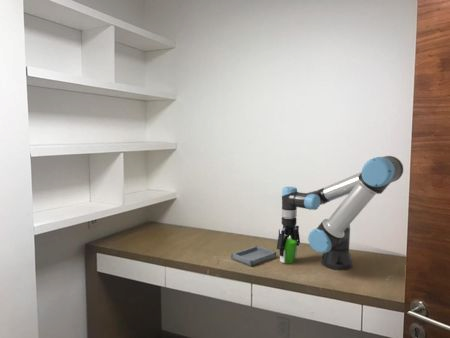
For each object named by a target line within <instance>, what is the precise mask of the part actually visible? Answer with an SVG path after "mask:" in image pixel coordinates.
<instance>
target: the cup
mask: <svg viewBox="0 0 450 338" xmlns="http://www.w3.org/2000/svg"><path fill="white" fill-rule="evenodd" d="M297 242H298V240H292V239H291V237H290V238H289V237H288V238H287V242H286V243H285V244H286V245H285V248H284V250H285V263H286V264H293V262H294V260H295V258H294V256H295V250H296V245H297ZM297 246H298V245H297ZM285 263H284V264H285Z"/></svg>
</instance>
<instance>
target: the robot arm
mask: <svg viewBox="0 0 450 338" xmlns="http://www.w3.org/2000/svg"><path fill="white" fill-rule="evenodd" d="M403 173H404V165H403V163H402V161H401V160H400V159H399V158H398V157H395V156H393V155H385V156H376V157H372V158H371V159H369V160H367V161H366V162H365V163H364V164H363V166H362V169H361V171H360V172H358V173H356V174H353V175H351V176H348V177H346V178H343V179H341V180H338V181H337V182H334V183H331V184H330V185H327V186H325V187H322V188H320V189H317V190H313V191H310V192H299V191H298V189H297V187H296V186H284V187H282V191H281V216H282V217H281V225H282V229H278V237H277V244H276V250H279V262H281V263H284V264H285V250H284V248H285V245H286V244H285V243H286V242H287V238H289V237H290V238H291V239H292V240H297V241H298V242H297V245H296V250H295V256H294V259H297V258H298V256H297V255H298V246H299V245H300V244H301V240H300V239H301V238H300V233H299V228H300V226H299V225H297V215H298V214H297V212H298V211H297V210H298V209H297V208H301V209H305V210H306V209H307V210H309V211H315V210H318V209H319V207H320V206H321V205H326V204H327V203H329V202H331V201H334V200H336V199H339V198H342V197H344V196H346V197H345V198H344V199H343V200H342V202H341V203H340V204H339V205H338V206H337V208H336V209H335V211H334V212H333V213H331V215H330V216H329V218H325V219H323V220H322V221H321V222H320V224H319V225H318V226H317V227H316V228H315V229H312V230H311V231H310V232H309V234H308V238H307V239H308V244H309V246H310V248H312V250H313V251H315V252H317V253H318V254H322V255H321V260H320V263H321V265H322V266H324V267H325V268H327V269H331V270H338V271H339V270H340V271H344V270H350V269H352V268H353V259H352V256H351V253H350V241H351V240H350V236H351V224H352V223H353V221H354V220H355V218H357V216H359V215H360V213H361V212H362V211H363V210H364V208H366V206H367V205H368V204H369V202H370V201H372V199H373V198H374V197H375V196H376V195H380V194H383V193H384V191H385V190H386V189H387V188H388V187H389V186H390V184H392V183H394V182H396V181H398V180H400V178H401V177H402V176H403Z"/></svg>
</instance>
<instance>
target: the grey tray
mask: <svg viewBox="0 0 450 338" xmlns="http://www.w3.org/2000/svg"><path fill="white" fill-rule="evenodd" d="M230 254H231V256H230V258H231V260H232V261H235V262H238V263H240V264H243V265H245V266H248V267H251V268H252V267H255V266H257V265H260V264H263V263H265V262H268V261H271V260H274V259H277V252H276V251H275V250H274V251H273V250H271V249H268V248H265V247H262V246H258V245H255V246H251V247H248V248H244V249H242V250H239V251H236V252H233V253H230Z"/></svg>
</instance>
